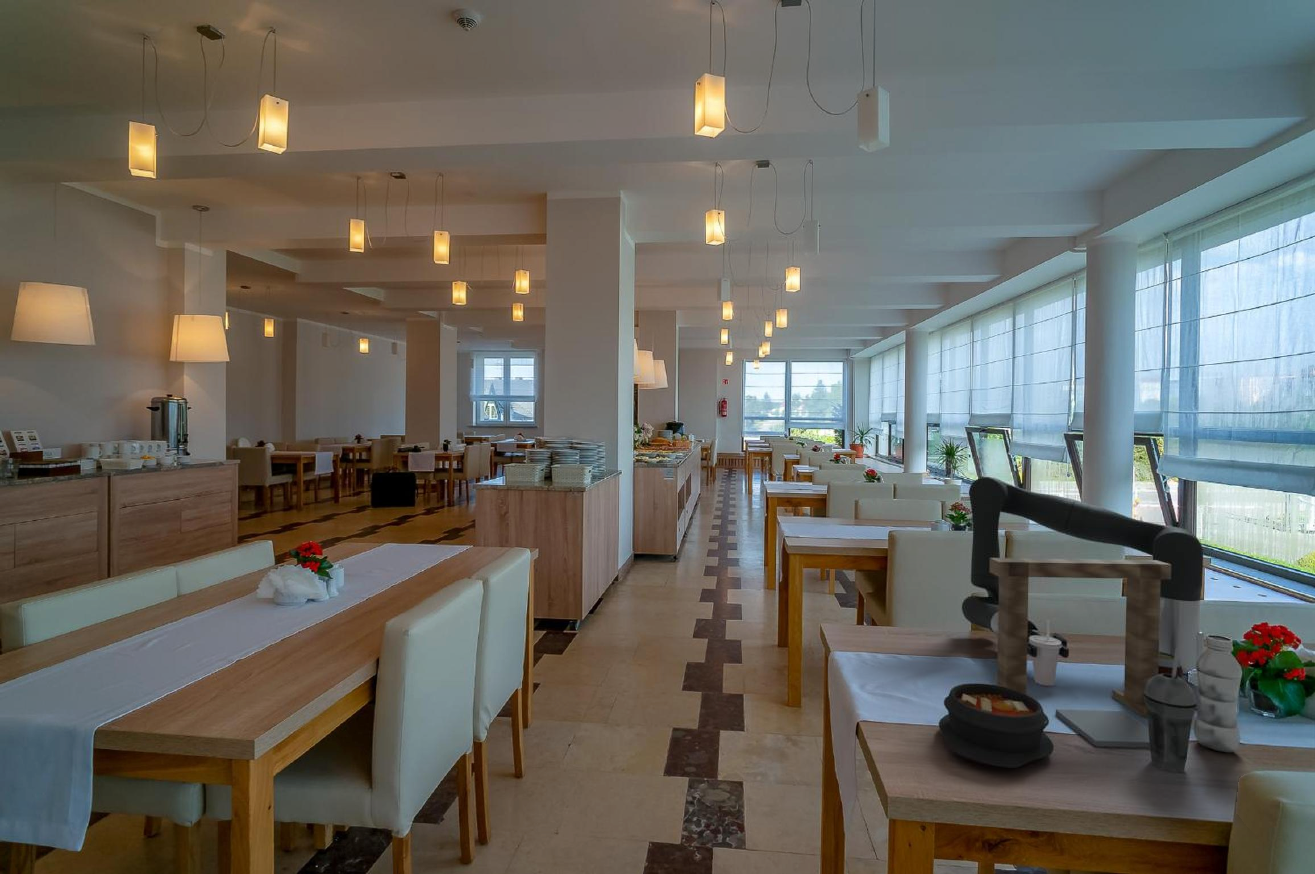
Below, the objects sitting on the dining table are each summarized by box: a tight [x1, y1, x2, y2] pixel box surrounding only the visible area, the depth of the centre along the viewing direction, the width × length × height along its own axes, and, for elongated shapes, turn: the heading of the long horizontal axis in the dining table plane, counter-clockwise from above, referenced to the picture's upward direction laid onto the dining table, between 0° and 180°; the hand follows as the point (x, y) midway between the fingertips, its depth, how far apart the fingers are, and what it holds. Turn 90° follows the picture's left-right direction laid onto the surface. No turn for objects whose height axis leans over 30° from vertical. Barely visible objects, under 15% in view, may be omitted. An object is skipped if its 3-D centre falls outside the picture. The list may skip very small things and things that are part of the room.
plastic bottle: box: [1192, 634, 1243, 753], centre depth 119 cm, size 6×7×20 cm
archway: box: [990, 557, 1171, 719], centre depth 136 cm, size 34×10×30 cm, turn 87°
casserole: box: [938, 682, 1055, 769], centre depth 120 cm, size 25×19×8 cm
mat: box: [1055, 708, 1150, 749], centre depth 126 cm, size 13×13×1 cm
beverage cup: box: [1143, 649, 1198, 773], centre depth 113 cm, size 7×7×20 cm
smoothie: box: [1029, 619, 1062, 687], centre depth 148 cm, size 6×6×14 cm
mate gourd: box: [1158, 637, 1184, 679], centre depth 143 cm, size 8×8×15 cm
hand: (1050, 652), depth 146 cm, fingers closed on smoothie, 6 cm apart
